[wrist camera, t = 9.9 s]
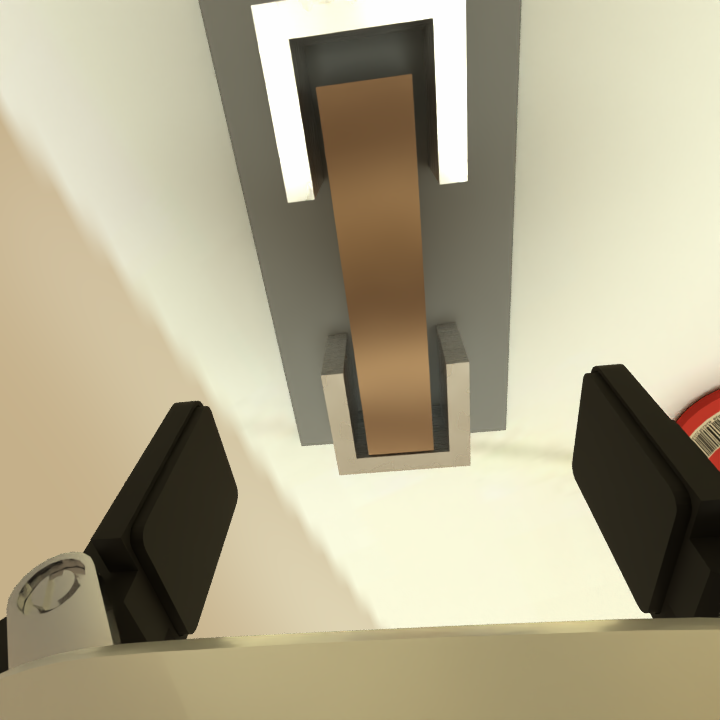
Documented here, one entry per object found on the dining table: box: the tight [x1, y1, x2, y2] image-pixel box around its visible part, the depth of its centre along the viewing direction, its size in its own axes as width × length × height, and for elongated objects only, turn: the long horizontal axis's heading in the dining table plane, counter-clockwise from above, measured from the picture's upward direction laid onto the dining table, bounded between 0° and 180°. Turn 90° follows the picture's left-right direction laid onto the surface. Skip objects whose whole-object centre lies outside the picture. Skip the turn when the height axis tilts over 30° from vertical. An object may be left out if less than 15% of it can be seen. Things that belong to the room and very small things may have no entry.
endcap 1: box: [251, 0, 467, 203], centre depth 18 cm, size 6×7×4 cm
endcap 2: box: [321, 323, 470, 475], centre depth 25 cm, size 6×7×4 cm
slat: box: [316, 74, 434, 455], centre depth 22 cm, size 16×3×4 cm, turn 7°
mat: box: [199, 0, 521, 446], centre depth 23 cm, size 22×12×1 cm, turn 7°
